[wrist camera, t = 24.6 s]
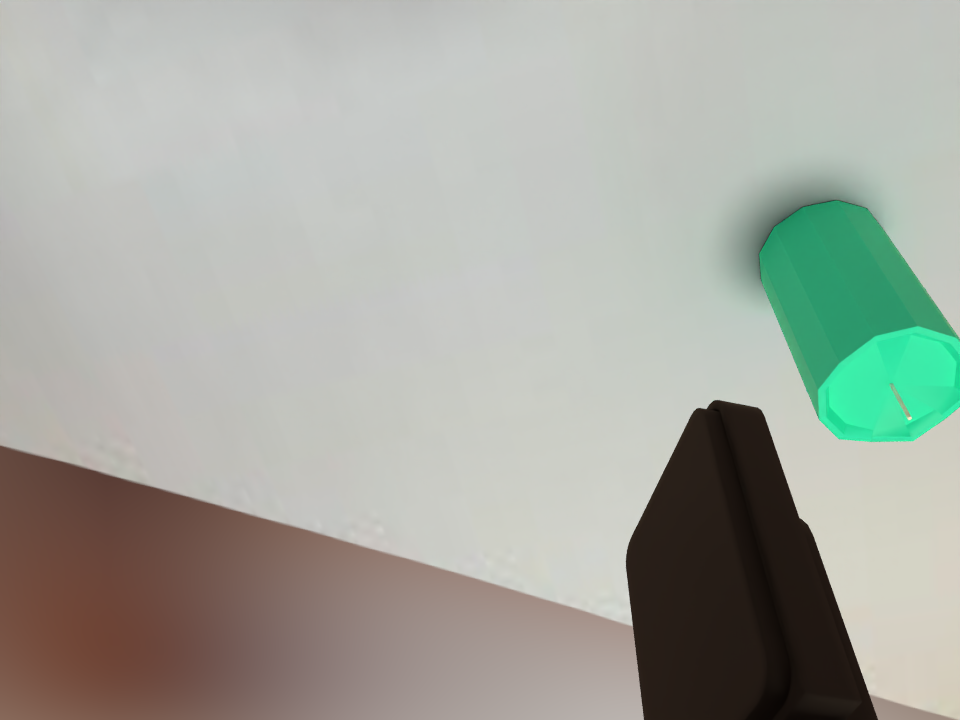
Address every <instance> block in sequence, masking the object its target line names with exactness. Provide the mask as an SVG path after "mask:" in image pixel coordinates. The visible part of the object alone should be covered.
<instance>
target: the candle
mask: <svg viewBox="0 0 960 720" xmlns="http://www.w3.org/2000/svg"><path fill="white" fill-rule="evenodd" d="M759 260H760V273H761V281H762V284H763V286H764V289H765V291H766V293H767V296H768V298H769V301H770V303H771V305H772V308H773V310H774V313H775V315H776V317H777V320H778V322H779V325H780V327H781V329H782V332H783V334H784V337H785V339H786V341H787V344H788V346H789V349H790V351H791V353H792V356H793V358H794V361H795V363H796V365H797V368H798V370H799V373H800V375H801V377H802V380H803V382H804V385H805V387H806V389H807V392H808V394H809V397H810V399H811V401H812V404H813V406H814V409H815V411H816V413H817V416H818V418H819V420H820V421H821V422H822V423H823V424H824V425H825V426H826V427H827V428H828V429H829V430H830V431H831V432H832V433H833V434H834V435H835V436H836V437H837V438H838V439H843V440H855V441H868V442H890V441H914V440H915V439H917V438H918V437H920V436H921V435H923V434H924V433H926V432H927V431H928V430H930V429H931V428H933V427H934V426H936V425H937V424H939V423H940V422H941V421H943V420H944V419H946V418H947V417H948V416H949V415H951V414H952V413H953V412H954V411H955V410H957V409H958V408H959V407H960V339H959V337H958V336H957V334H956V333H955V332H954V330H953V329H952V327H951V326H950V324H949V323H948V321H947V320H946V319H945V317H944V316H943V314H942V313H941V311H940V310H939V309H938V307H937V306H936V304H935V303H934V301H933V300H932V299H931V297H930V296H929V294H928V293H927V291H926V290H925V288H924V287H923V286H922V284H921V283H920V281H919V280H918V278H917V277H916V276H915V274H914V273H913V271H912V270H911V268H910V267H909V265H908V264H907V263H906V261H905V260H904V258H903V257H902V255H901V254H900V253H899V251H898V250H897V248H896V247H895V245H894V244H893V243H892V241H891V240H890V238H889V237H888V235H887V234H886V232H885V231H884V230H883V228H882V227H881V226H880V225H879V223H878V222H877V221H876V219H875V218H874V217H873V216H872V214H871V213H870V212H869V211H868V209H867V208H863V207H860V206H856V205H853V204H849V203H845V202H842V201H838V200H835V201H830V202H825V203H820V204H815V205H810V206H806V207H802V208H801V209H799V210H798V211H796V212H795V213H793V214H792V215H791V216H789V217H788V218H786V219H785V220H784V221H782V222H781V223H779V224H778V225H776V226H775V227H774V228H773V230H772V232H771V234H770V235H769V237H768V239H767V241H766V243H765V244H764V246H763V248H762V250H761V252H760V253H759Z"/></svg>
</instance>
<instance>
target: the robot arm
mask: <svg viewBox="0 0 960 720" xmlns="http://www.w3.org/2000/svg"><path fill="white" fill-rule="evenodd" d="M626 571H627V579H628V588H629V596H630V605H631V613H632V621H633V630H634V638H635V647H636V655H637V664H638V672H639V681H640V689H641V697H642V706H643V714H644V720H878V719H877V716H876V713H875V710H874V707H873V704H872V702H871V699H870V696H869V693H868V690H867V687H866V684H865V682H864V679H863V676H862V673H861V670H860V667H859V664H858V662H857V659H856V656H855V653H854V650H853V647H852V645H851V642H850V639H849V636H848V633H847V630H846V628H845V625H844V622H843V619H842V616H841V613H840V610H839V608H838V605H837V602H836V599H835V596H834V593H833V591H832V588H831V585H830V582H829V579H828V576H827V574H826V571H825V568H824V565H823V562H822V559H821V556H820V554H819V551H818V548H817V545H816V542H815V539H814V537H813V534H812V532H811V530H810V528H809V526H808V525H807V524H806V523H805V522H804V521H803V520H802V519H800V518H799V516H798V513H797V510H796V507H795V504H794V501H793V498H792V495H791V492H790V489H789V487H788V484H787V481H786V478H785V475H784V472H783V469H782V466H781V463H780V460H779V457H778V454H777V451H776V449H775V446H774V443H773V440H772V437H771V434H770V431H769V428H768V425H767V422H766V419H765V416H764V414H763V413H762V411H761V410H760V409H759V408H756V407H751V406H746V405H741V404H736V403H730V402H725V401H720V400H715V401H713V402H712V403H711V404H710V405H709V406H708V408H707V409H702V408H697V409H696V410H695V411H694V412H693V414H692V415H691V417H690V419H689V421H688V423H687V425H686V427H685V429H684V431H683V433H682V435H681V437H680V440H679V442H678V444H677V446H676V448H675V450H674V452H673V454H672V456H671V458H670V460H669V462H668V464H667V466H666V468H665V470H664V472H663V474H662V476H661V478H660V480H659V482H658V484H657V486H656V488H655V490H654V492H653V494H652V496H651V498H650V501H649V503H648V505H647V507H646V509H645V511H644V513H643V515H642V517H641V519H640V521H639V523H638V525H637V527H636V529H635V531H634V533H633V535H632V537H631V539H630V542H629V545H628V549H627V555H626Z"/></svg>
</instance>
